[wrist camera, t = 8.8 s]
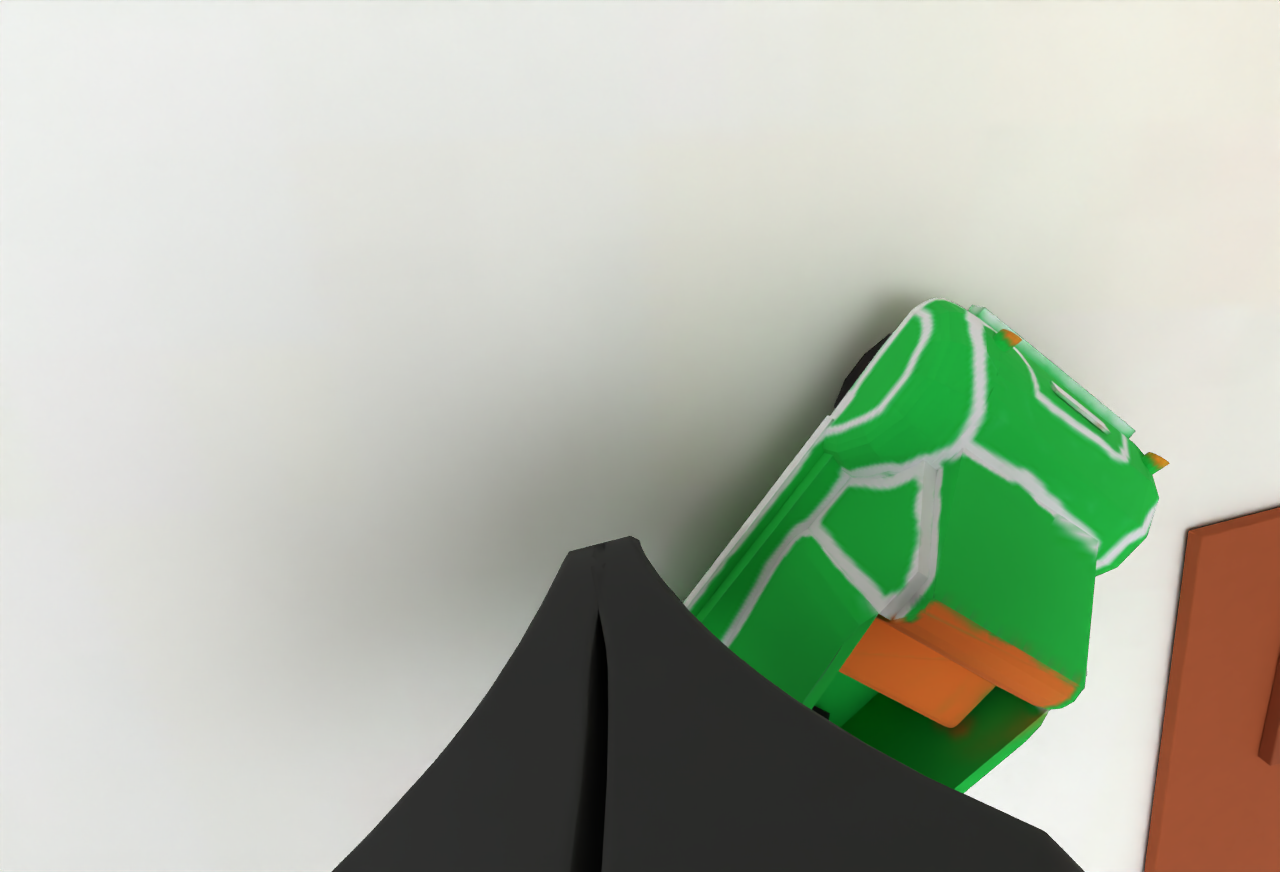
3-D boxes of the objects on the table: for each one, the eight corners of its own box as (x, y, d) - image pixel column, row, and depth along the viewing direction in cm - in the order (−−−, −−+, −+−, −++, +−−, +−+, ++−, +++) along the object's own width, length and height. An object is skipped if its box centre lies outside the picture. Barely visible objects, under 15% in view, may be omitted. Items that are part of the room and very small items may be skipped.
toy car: (722, 835, 14) (783, 1089, 10) (530, 761, 12) (508, 1020, 8) (1093, 422, 11) (1392, 539, 7) (900, 268, 10) (1133, 301, 6)
